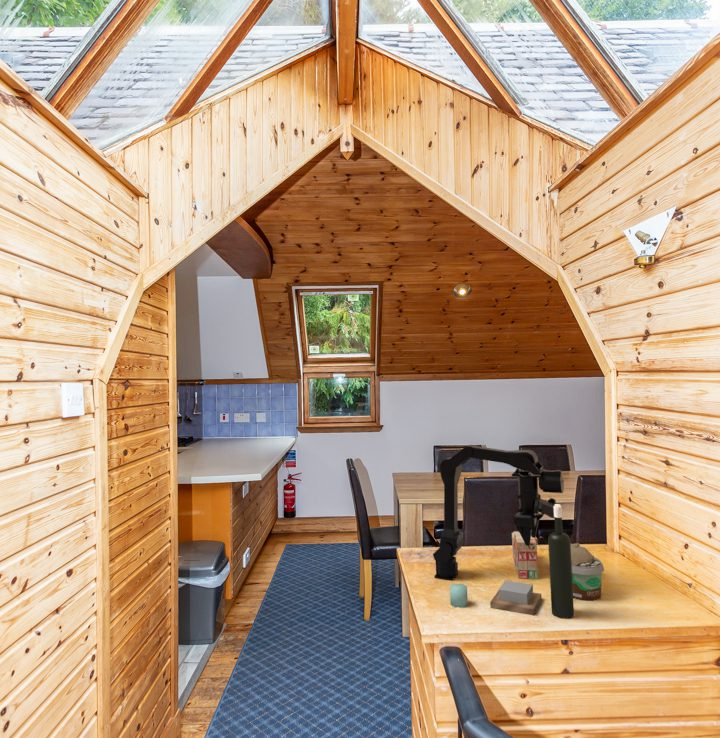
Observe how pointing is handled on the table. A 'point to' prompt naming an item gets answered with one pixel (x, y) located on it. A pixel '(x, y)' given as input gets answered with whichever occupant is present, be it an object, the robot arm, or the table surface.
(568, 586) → the wine bottle
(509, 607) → the tower base slab
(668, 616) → the table surface
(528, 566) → the stack of blocks
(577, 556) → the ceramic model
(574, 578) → the food container
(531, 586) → the grey square block
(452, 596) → the teal round block
